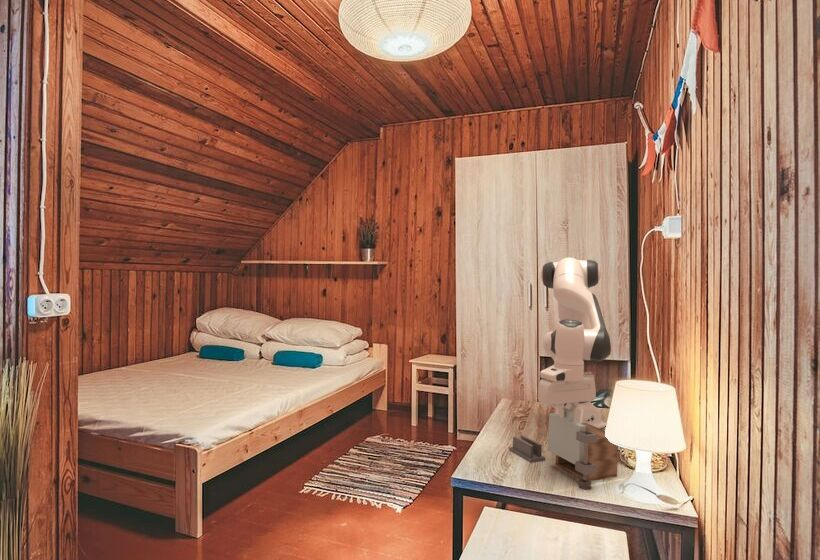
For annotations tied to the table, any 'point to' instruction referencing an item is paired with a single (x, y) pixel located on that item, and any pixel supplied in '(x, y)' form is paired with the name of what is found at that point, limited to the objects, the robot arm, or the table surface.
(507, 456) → the table surface
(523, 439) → the door stand
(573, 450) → the door
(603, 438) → the cabinet
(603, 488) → the table surface
